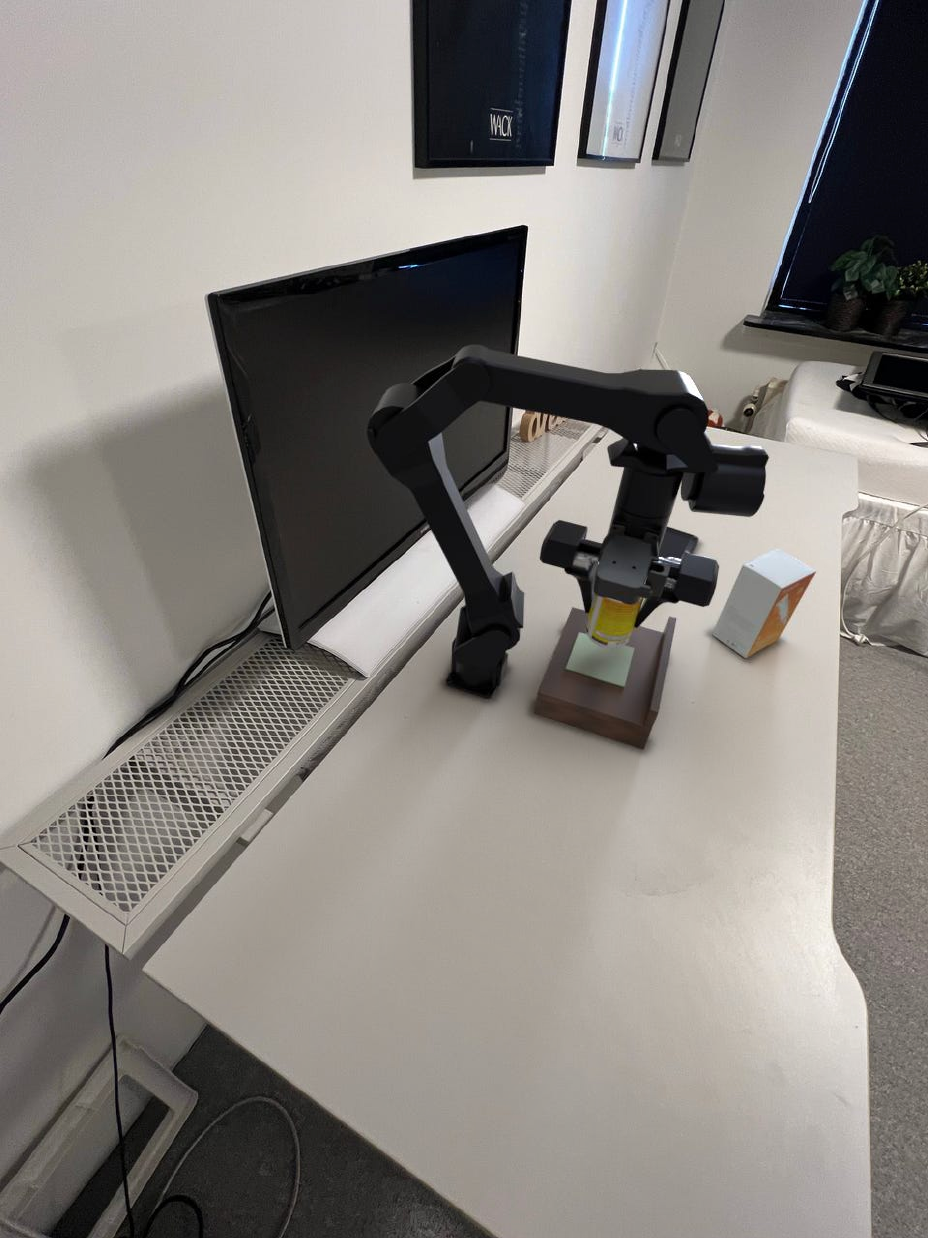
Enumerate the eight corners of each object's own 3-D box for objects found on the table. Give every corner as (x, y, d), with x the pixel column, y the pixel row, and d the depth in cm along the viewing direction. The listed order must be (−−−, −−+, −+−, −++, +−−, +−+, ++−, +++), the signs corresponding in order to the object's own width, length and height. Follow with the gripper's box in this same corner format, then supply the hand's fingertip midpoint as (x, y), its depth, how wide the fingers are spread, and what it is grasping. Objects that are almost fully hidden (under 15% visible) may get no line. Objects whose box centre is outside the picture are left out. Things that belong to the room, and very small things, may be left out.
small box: (746, 660, 85) (782, 588, 76) (710, 634, 89) (741, 563, 80) (779, 640, 89) (818, 570, 80) (744, 616, 92) (777, 546, 84)
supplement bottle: (637, 645, 72) (661, 579, 65) (597, 654, 71) (617, 588, 64) (614, 616, 76) (635, 551, 69) (576, 624, 74) (593, 558, 68)
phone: (700, 536, 107) (677, 578, 97) (698, 542, 108) (675, 583, 98) (657, 523, 110) (630, 562, 100) (655, 528, 111) (629, 567, 101)
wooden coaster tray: (533, 713, 76) (540, 675, 71) (567, 627, 88) (576, 590, 84) (643, 749, 72) (658, 712, 68) (662, 654, 85) (676, 617, 80)
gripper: (534, 519, 58) (516, 636, 68) (733, 570, 53) (682, 688, 63) (564, 471, 66) (544, 583, 76) (740, 512, 61) (693, 625, 71)
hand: (611, 618), depth 71 cm, fingers closed on supplement bottle, 5 cm apart
